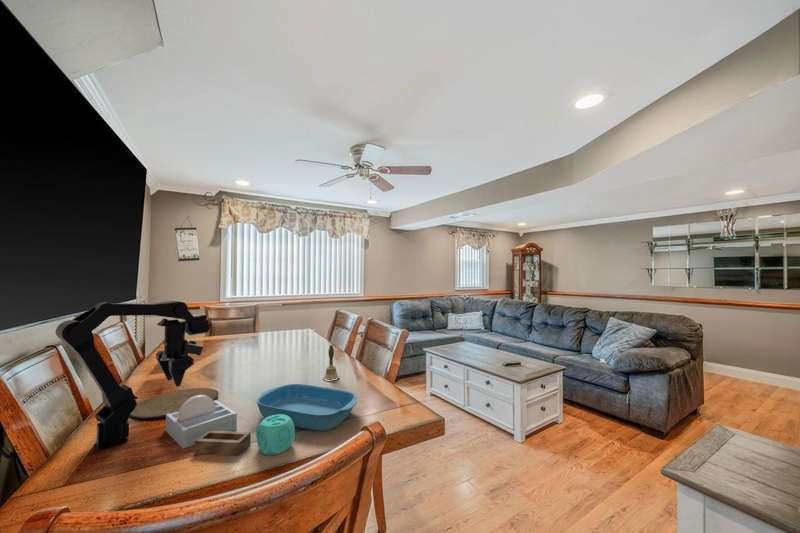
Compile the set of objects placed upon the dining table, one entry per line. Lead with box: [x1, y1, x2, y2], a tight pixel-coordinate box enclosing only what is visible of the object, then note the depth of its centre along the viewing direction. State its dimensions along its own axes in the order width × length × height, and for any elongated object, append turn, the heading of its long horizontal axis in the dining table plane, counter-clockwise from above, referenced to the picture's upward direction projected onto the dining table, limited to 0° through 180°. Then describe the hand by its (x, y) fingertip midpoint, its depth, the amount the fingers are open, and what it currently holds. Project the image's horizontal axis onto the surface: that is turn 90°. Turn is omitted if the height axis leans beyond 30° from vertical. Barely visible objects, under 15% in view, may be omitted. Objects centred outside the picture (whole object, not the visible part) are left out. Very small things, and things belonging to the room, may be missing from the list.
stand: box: [194, 430, 252, 456], centre depth 92 cm, size 13×6×4 cm, turn 86°
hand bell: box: [322, 344, 340, 380], centre depth 154 cm, size 8×8×16 cm
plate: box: [178, 395, 216, 423], centre depth 102 cm, size 2×10×10 cm, turn 142°
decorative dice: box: [255, 414, 296, 456], centre depth 93 cm, size 8×8×8 cm
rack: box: [165, 399, 238, 450], centre depth 103 cm, size 15×17×5 cm
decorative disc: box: [129, 387, 220, 420], centre depth 123 cm, size 29×3×30 cm
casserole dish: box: [256, 383, 358, 432], centre depth 113 cm, size 37×22×7 cm, turn 71°
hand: (173, 383), depth 109 cm, fingers open, 9 cm apart
